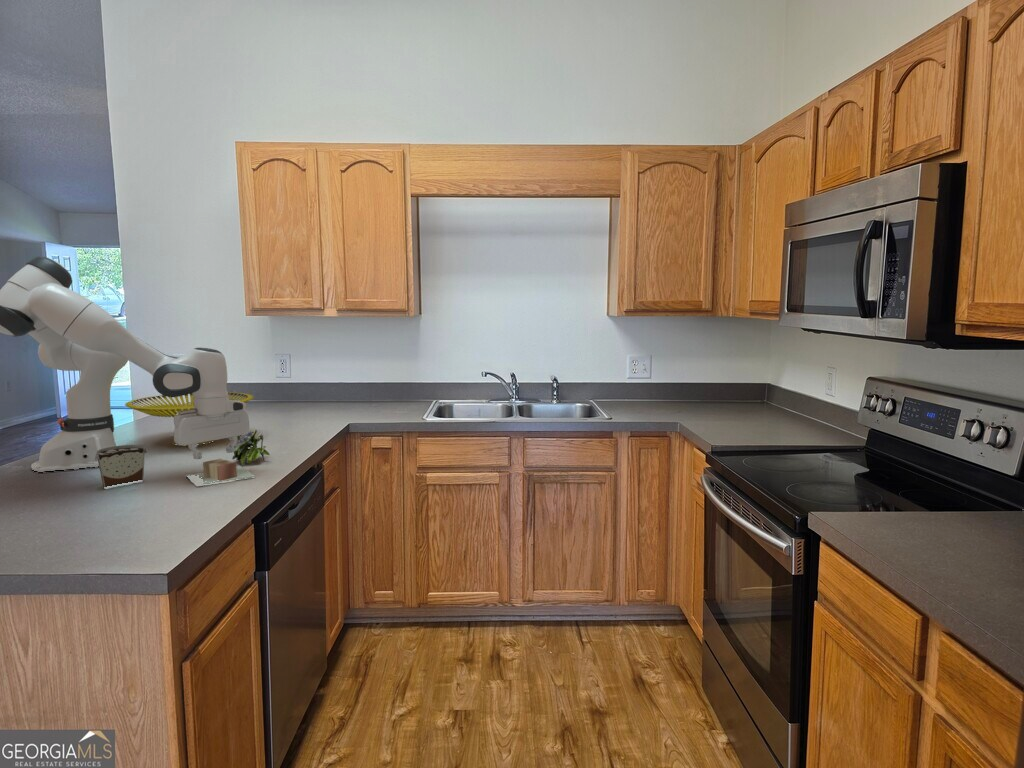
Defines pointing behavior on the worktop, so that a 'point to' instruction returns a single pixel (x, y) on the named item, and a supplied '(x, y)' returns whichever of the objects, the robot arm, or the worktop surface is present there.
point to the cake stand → (171, 409)
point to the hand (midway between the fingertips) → (214, 455)
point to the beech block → (219, 469)
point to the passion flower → (253, 452)
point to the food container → (121, 464)
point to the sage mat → (241, 474)
